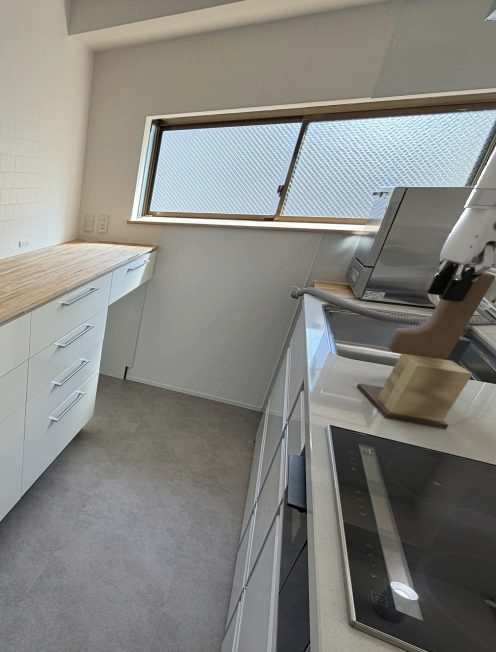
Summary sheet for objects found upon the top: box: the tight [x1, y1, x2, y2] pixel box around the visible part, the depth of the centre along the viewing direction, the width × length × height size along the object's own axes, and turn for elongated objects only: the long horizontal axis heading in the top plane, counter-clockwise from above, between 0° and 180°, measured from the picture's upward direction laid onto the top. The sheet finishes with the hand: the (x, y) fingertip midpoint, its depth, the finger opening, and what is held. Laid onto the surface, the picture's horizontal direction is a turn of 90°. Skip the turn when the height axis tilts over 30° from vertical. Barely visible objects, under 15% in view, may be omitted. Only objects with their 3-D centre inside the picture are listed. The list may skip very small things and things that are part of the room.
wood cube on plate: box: [356, 354, 473, 430], centre depth 89 cm, size 10×16×12 cm, turn 158°
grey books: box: [415, 321, 473, 365], centre depth 98 cm, size 6×9×15 cm
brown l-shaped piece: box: [386, 269, 496, 360], centre depth 86 cm, size 9×4×18 cm, turn 61°
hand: (444, 296), depth 85 cm, fingers closed on brown l-shaped piece, 4 cm apart
